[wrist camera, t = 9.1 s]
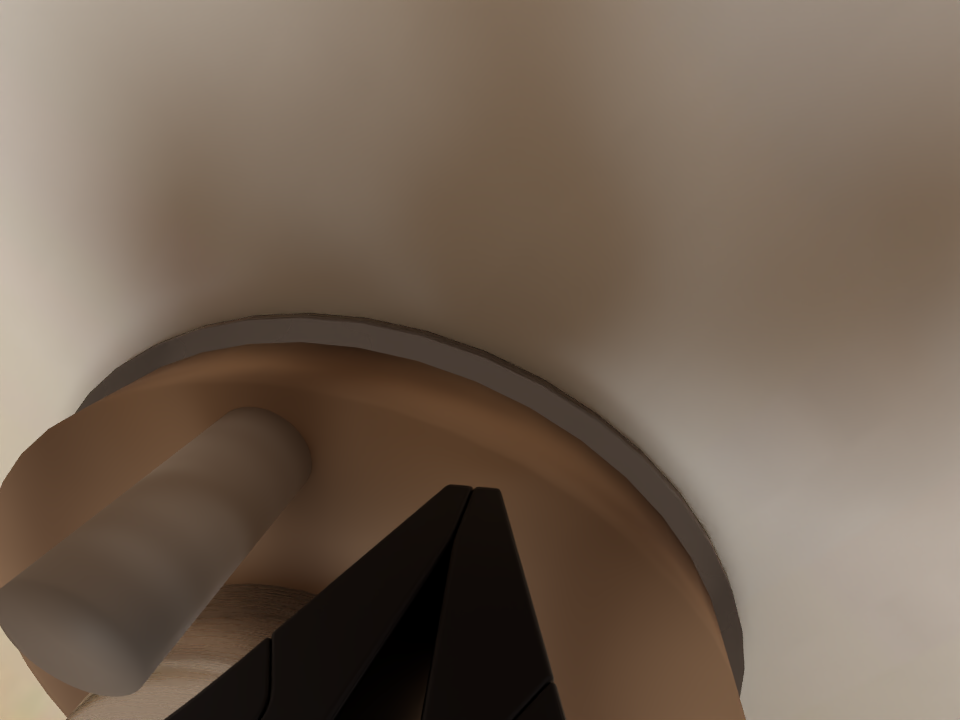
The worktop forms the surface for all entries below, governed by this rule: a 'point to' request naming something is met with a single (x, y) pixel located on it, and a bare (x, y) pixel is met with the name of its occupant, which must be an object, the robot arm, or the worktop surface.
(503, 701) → the robot arm
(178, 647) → the cover
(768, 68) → the worktop surface
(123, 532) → the turntable
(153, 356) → the turntable stand
